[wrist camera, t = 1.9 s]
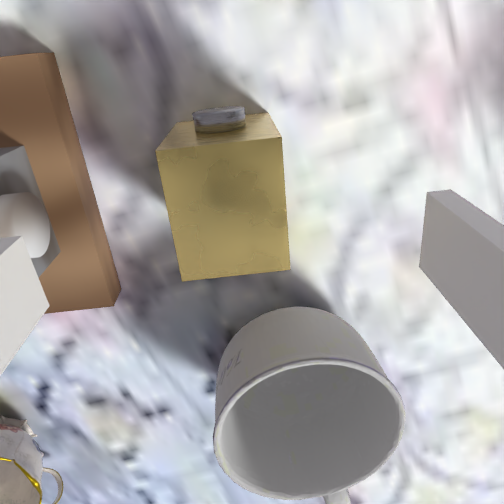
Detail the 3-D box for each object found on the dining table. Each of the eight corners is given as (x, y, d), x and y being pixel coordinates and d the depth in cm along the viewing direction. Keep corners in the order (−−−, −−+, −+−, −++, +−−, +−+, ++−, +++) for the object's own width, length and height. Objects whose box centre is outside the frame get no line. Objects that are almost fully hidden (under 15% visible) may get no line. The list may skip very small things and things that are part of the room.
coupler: (266, 96, 22) (280, 115, 16) (276, 226, 25) (291, 284, 19) (174, 107, 22) (150, 129, 16) (197, 235, 25) (185, 295, 19)
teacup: (204, 296, 27) (194, 383, 20) (365, 272, 27) (413, 353, 20) (237, 437, 34) (238, 542, 26) (368, 419, 33) (406, 521, 26)
